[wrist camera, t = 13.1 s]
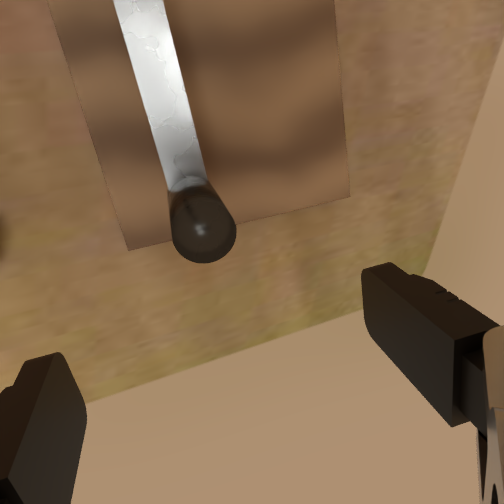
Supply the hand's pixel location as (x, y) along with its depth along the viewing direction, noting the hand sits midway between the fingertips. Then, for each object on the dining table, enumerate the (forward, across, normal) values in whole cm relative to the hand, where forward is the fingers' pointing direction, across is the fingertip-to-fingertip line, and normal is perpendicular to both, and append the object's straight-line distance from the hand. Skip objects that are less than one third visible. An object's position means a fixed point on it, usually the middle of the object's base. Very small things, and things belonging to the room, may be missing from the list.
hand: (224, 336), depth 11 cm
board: (+22, -4, -9) cm, 24 cm away
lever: (+17, 0, -8) cm, 19 cm away
